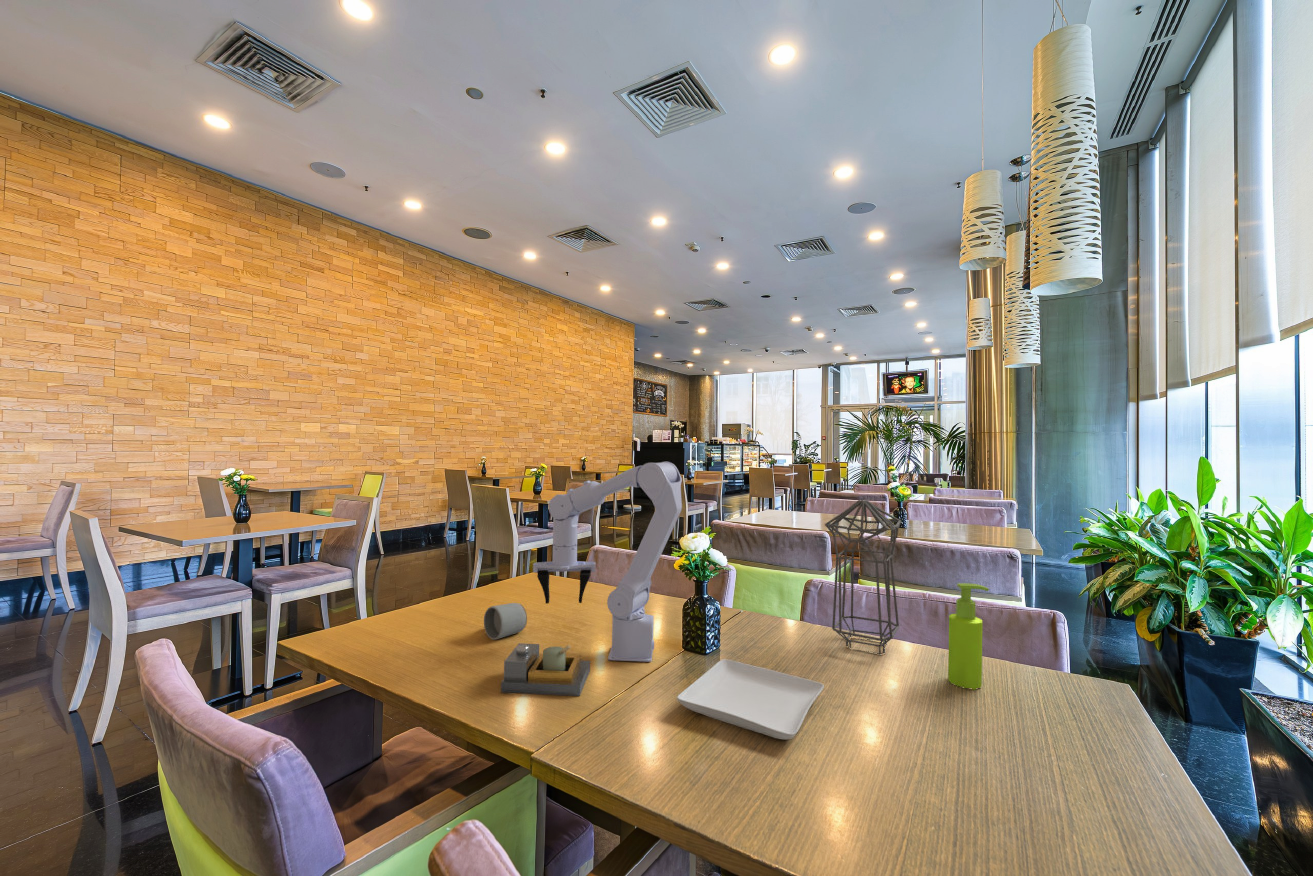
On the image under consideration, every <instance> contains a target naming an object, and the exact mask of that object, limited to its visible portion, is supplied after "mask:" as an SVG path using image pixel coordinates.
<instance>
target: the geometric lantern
mask: <svg viewBox="0 0 1313 876" xmlns="http://www.w3.org/2000/svg"><path fill="white" fill-rule="evenodd" d="M855 509H856V511H855V513H854V515H853V517H847V516H848V515H850V514H851V513H852V512H853V511H854V510H855ZM860 510H861V515H860V516H861V517H860V518H859V519H858V518H857V516H858V514H859V512H860ZM867 510H869V512H870V513H871V515H872V517H873V518H874V520H868V514H867ZM886 516H887V517H889V518H890V519H889V518H887V517H886ZM842 520H843V521H844V520H845V521H846V522H847V523H849V525H848V527H847V526H843V525H840V522H841V521H842ZM855 522H859V523H860V525H857V524H856V523H855ZM895 522H896V524H894V523H895ZM902 522H903V521H902V520H901V519H899V518H897V517H895V516H893V514H890V513H889V512H887V511H885V510H884V509H882V508H880V507H879V506H877V505H876V504H873V503H872V502H870V501H869V500H866V499H858V500H857V501H856V502H854V503H853V504H852V505H850V507H848V508H846V510H844V511H842V512H841V513H839V514H837V515H836V516H834V517H833V518H832V519H830V520H829V521H828V522H827V521H826V523H824V526H825V527H826V529H827V530H828V531H829V532H830V533H831V534H832V536H833V538H832V539H833V544H834V549H835V569H834V570H835V571H834V573H835V574H834V587H833V588H834V592H833V606H832V607H833V608H832V610H833V611H832V625H831V626H832V627H831V629H832V631H834V632H836V633H837V634H838V635H839V636H840V637H842V638H843V639H844V640H845V644H846V645H845V647H846V646H848V647H850V648H852V643H856V644H863V645H868V646H874V647H878V652H874V651H872V652H873V653H877V654H882V653H885V654H886V652H885V649H884V648H885V644H886V645H887V646H888V643H889V641H891V640H893V638H894V636H895V635H896V633H897V631H898V629H899V628H900V623H899V614H898V602H897V595H896V594H897V593H896V584H895V583H896V582H895V573H894V572H895V571H894V562H893V554H894V551H895V550H894V549H895V545H896V541H897V538H898V535H899V528H900V525H901V523H902ZM864 523H865V526H864ZM868 524H877V525H876V528H868ZM879 525H881V528H880V527H879ZM853 526H854V527H856V528H852V527H853ZM864 527H865V528H864ZM839 529H841V530H842V529H843V530H846V531H847V535H848V537H847V536H846V535H844V534H843V533H842V532H841V531H839ZM850 531H857V532H859V533H860V535H859V537H858V539H851V533H850ZM886 531H890V539H889V540H890V542H889V544H888V547H887V548H886V546H885V544H884V543H883V541H882V539H881V537H880V536H879V535H881V534H882V533H884V532H886ZM865 533H866V534H871V535H869V536H866V537H865V538H864V534H865ZM836 536H839V538H840V540H841V542H842V545H843V546H844V549H843V550H842V551H841V552H838V545H837V538H836ZM874 537H877V538H878V540H879V542H880V543H881V546H882V547H883V549H884V550H885V551H880V550H879V551H877V550H872V549H871V548H870V545H868V543H867V541H868V540H870V539H872V538H874ZM843 539H845V540H846V541H848V543H847V545H846V544H845V542H844V540H843ZM862 542H863V544H864V546H865V547H866V548H867V550H865V549H856V547H857V546H858V544H859V543H862ZM851 543H854V545H853V547H852V548H850V549H848V547H849V546H850V544H851ZM890 548H891V550H890ZM889 550H890V553H889ZM849 552H850V553H851V557H848V556H847V555H848V553H849ZM854 552H860V553H862V552H863V553H870V554H871V555H872V557H873V559H874V560H873V559H861V558H854V557H855V553H854ZM874 553H876V554H885V555H884V557H883V559H882V560H878V558H877V556H876V555H875V554H874ZM842 556H844V557H842ZM842 560H843V579H842ZM848 560H849V561H851V562H850V563H851V564H850V565H851V571H850V572H851V574H850V575H851V577H850V579H851V581H850V589H851V590H850V615H845V606H846V605H845V603H846V602H845V601H846V581H847V561H848ZM855 561H860V562H868V563H875V577H876V578H875V579H876V594H877V595H876V596H877V597H876V598H877V609H878V610H877V611H878V612H877V613H878V619H877V618H871V617H865V616H864V617H863V616H856V615H854V583H855V582H854V580H855V579H854V578H855V577H854V572H855V571H854V570H855V568H854V567H855ZM879 564H882V565H883V566H882V567H883V575H884V586H885V599H886V611H887V619H888V620H884V619H882V611H881V610H882V609H881V596H880V595H881V594H880V593H881V592H880V590H881V589H880V577H879V576H880V575H879ZM890 572H891V573H890ZM890 574H891V575H890ZM890 576H891V577H890ZM890 578H891V579H890ZM842 580H843V581H842ZM890 582H891V583H890ZM842 583H843V584H842ZM891 584H892V593H893V603H894V612H895V613H894V614H895V622H893V621H892V618H891V616H892V614H891V611H892V610H891V609H892V607H891ZM837 589H838V590H837ZM837 593H838V621H837V622H836V612H837V611H836V608H837ZM846 619H850V620H851V626H852V627H850V626H849V623H848V622H847V621H846ZM854 619H857V620H864V621H870V622H876V623H877V622H878V625H879V626H878V628H879V631H878V632H877V631H876V632H875V631H867V630H858V629H855V625H854ZM842 621H844V623H845V625H846V627H847V629H848V630H849V631H843V626H842V625H843V623H842ZM882 623H885V624H887V625H886V626H885V628H884V629H883V627H882V626H883V625H882ZM838 626H839V627H838ZM892 626H894V628H892ZM837 627H838V628H839V629H837ZM851 628H852V629H851ZM887 629H888V630H889V631H888V632H887ZM856 632H858V633H856ZM886 632H887V633H886ZM859 633H864V634H859ZM866 633H867V634H874V635H879V637H874V636H871V635H865V634H866ZM885 633H886V634H885ZM853 636H855V637H859V638H865V639H867V640H876V641H881V642H880V643H879V644H876V643H870V642H864V641H858V640H853V639H851V640H849V639H850V637H853ZM867 640H866V641H867ZM848 642H849V645H848ZM882 642H883V643H882ZM881 649H882V650H881ZM867 651H868V652H869V650H867ZM877 654H876V655H877Z"/></svg>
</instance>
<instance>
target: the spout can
mask: <svg viewBox="0 0 1313 876" xmlns="http://www.w3.org/2000/svg"><path fill="white" fill-rule="evenodd" d="M569 650H571V645H568V644H567V645H566V646H565V647H562V646H549V647H546V648H545V649H543V651H542V654H543V670H545V671H565V657H566V654H567V653H566V652H568V651H569Z"/></svg>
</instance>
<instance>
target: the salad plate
mask: <svg viewBox="0 0 1313 876" xmlns="http://www.w3.org/2000/svg"><path fill="white" fill-rule="evenodd" d="M824 688H825V685H824V684H823V683H822V682H819V681H815V680H812V679H807V678H804V677H801V676H797V675H792V674H788V673H784V672H780V671H777V670H773V669H768V668H765V667H761V666H757V665H756V666H755V665H753V664H748V663H745V662H740V661H736V660H733V659H732V660H731V659H726V658H722V659H721V660H719V661H718V662H716V663H715V664H714V665H713V666H711V668H709V669H708V670H707V671H706V672H705V673H703V674H702V675H701V676H699V677H698V679H696V680H694V682H692V683H691V684H690V685H689V686H687V687H686V688H685V689H684V690H682V692H680V693H679V694H678V695H677V696H676V700H677V702H679V703H680V704H681V706H683V707H685V708H687V710H690V711H693V712H695V713H698V714H702V715H704V716H706V717H709V718H710V719H711V718H712V719H714V720H717V721H721V722H724V723H727V724H729V725H732V726H735V727H740V728H742V729H744V730H745V729H746V730H748V731H752V732H755V733H758V734H761V735H766V736H768V737H771V738H774V739H776V740H777V739H779V740H791V739H793V738H795V737H796V735H797V733H798V731H799V730H800V728H801V726H802V725H803V722H804V721H805V720H804V719H805V718H806V716H807V714H808V712H809V710H810V708H811V706H812V705H813V703H814V702H815V700H817V698H818V697H819V696H820V694H821V692H823V690H824Z"/></svg>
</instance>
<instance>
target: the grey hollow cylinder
mask: <svg viewBox="0 0 1313 876" xmlns="http://www.w3.org/2000/svg"><path fill="white" fill-rule="evenodd" d="M483 616H484V617H483V628H484V631H485V633H486V635H487V637H488V638H489V639H491V640H494V641H496V640H499V639H502V638H505V637H509V636H511V635H514V634H518V633H520V632H521V631H523V630H524V629H525V628H526V625H527V623H528V622H527V621H528V614H527V610H526V609H525V607H524V605H523V604H521V603H517V602H511V603H510V602H509V603H505V604H497V605H493V606H490V607H488V608H487V609H486V611H485V613H484V615H483Z"/></svg>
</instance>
